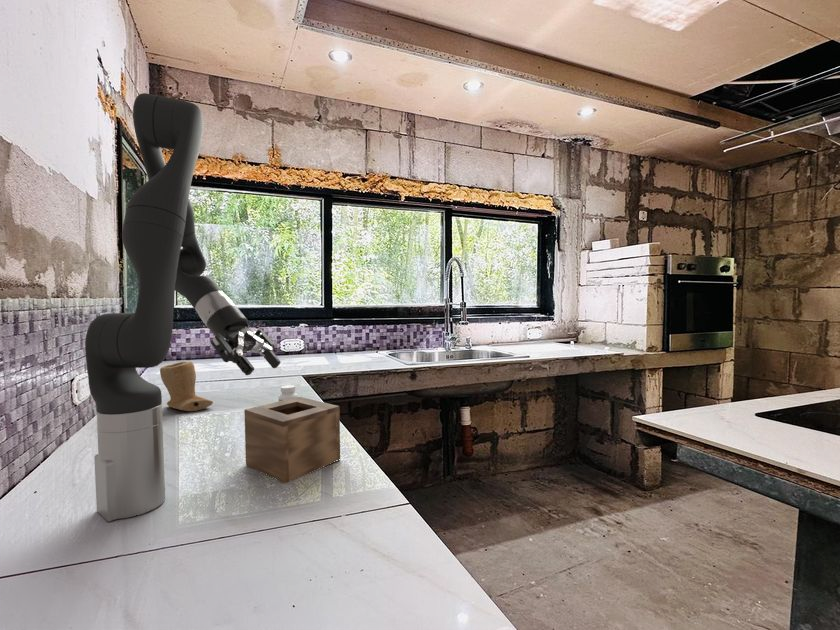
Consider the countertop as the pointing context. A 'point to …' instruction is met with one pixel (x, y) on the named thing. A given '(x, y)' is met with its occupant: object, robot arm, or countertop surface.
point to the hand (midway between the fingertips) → (264, 369)
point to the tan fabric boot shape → (182, 387)
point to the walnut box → (292, 437)
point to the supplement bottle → (287, 392)
